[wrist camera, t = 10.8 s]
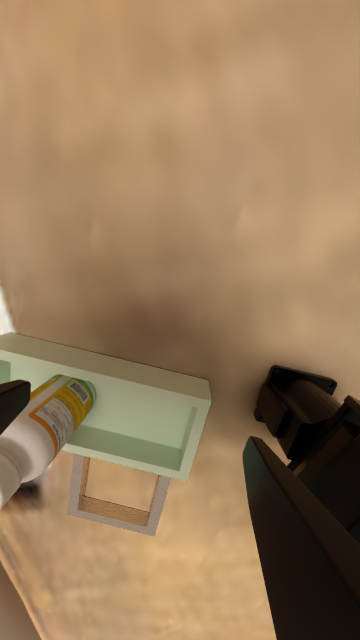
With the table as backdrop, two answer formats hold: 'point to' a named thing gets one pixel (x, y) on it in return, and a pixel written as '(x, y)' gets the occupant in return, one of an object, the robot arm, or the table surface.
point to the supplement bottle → (42, 430)
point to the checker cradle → (110, 511)
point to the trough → (119, 404)
